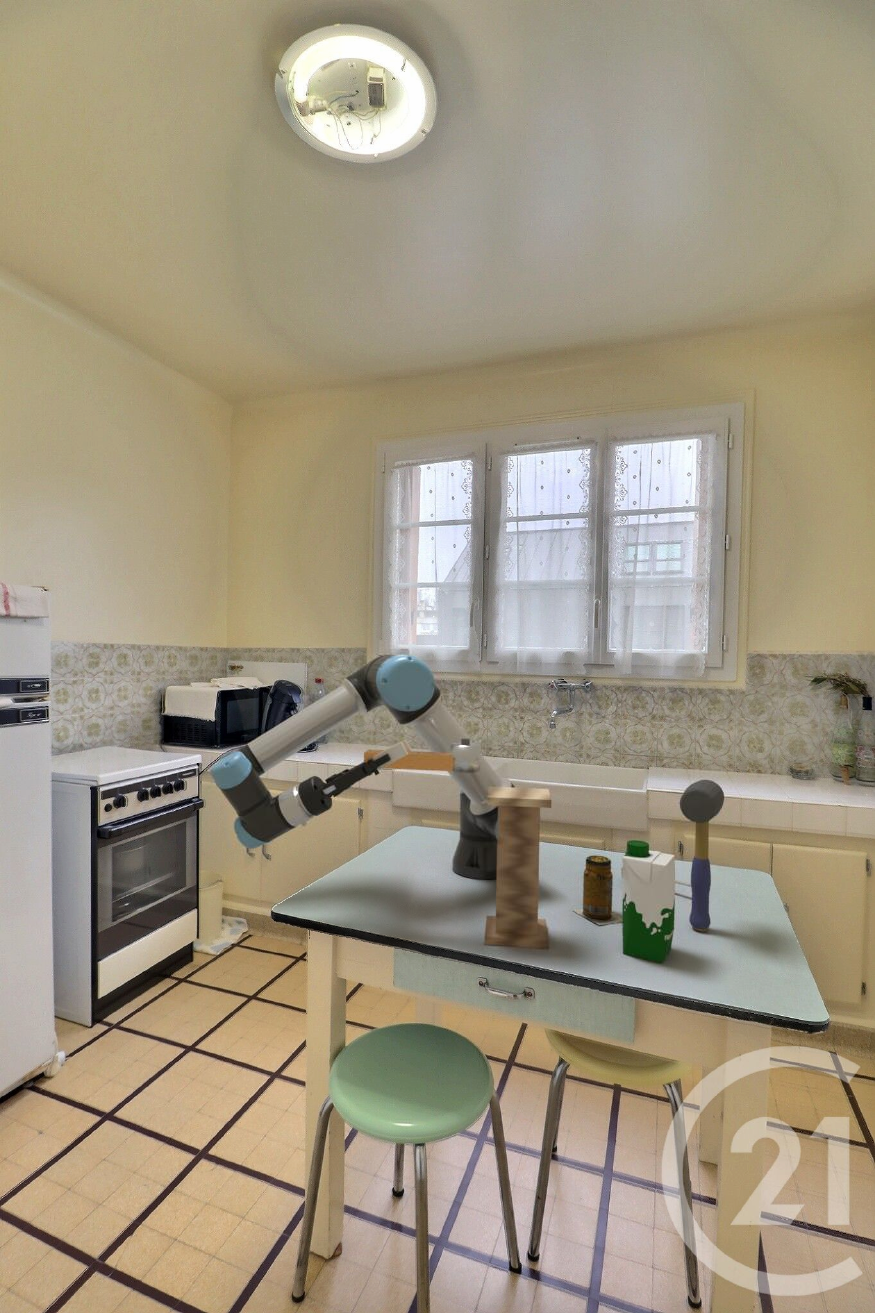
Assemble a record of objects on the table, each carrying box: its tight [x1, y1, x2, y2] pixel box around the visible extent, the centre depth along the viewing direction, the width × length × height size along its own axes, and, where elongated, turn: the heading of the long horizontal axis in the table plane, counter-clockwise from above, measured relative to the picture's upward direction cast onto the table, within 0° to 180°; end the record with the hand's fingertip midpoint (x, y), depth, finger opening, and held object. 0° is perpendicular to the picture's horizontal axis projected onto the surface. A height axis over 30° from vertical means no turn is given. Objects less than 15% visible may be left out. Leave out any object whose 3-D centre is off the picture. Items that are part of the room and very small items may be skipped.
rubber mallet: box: [679, 779, 725, 932], centre depth 132 cm, size 12×8×30 cm, turn 149°
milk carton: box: [621, 839, 676, 964], centre depth 122 cm, size 9×9×20 cm
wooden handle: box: [363, 737, 482, 773], centre depth 130 cm, size 23×6×6 cm, turn 84°
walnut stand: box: [484, 787, 552, 950], centre depth 128 cm, size 12×10×28 cm
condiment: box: [573, 854, 622, 926], centre depth 138 cm, size 7×8×12 cm
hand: (406, 746), depth 130 cm, fingers closed on wooden handle, 4 cm apart
